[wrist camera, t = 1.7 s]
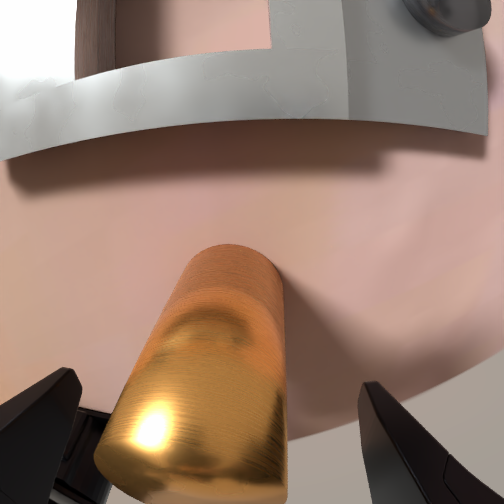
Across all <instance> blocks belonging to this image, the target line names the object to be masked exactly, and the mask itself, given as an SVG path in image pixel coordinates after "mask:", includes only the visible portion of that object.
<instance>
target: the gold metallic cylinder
mask: <svg viewBox="0 0 504 504" xmlns="http://www.w3.org/2000/svg"><path fill="white" fill-rule="evenodd" d="M94 462H95V464H96V466H97V468H98V470H99V471H100V472H101V474H102V475H103V476H104V477H105V478H106V479H107V480H108V481H109V482H110V483H112V484H113V485H114V486H116V487H117V488H118V489H120V490H121V491H123V492H124V493H126V494H127V495H129V496H131V497H133V498H135V499H137V500H139V501H141V502H143V503H145V504H284V503H285V502H286V500H287V489H288V484H287V483H288V481H287V480H288V478H287V477H288V476H287V474H288V473H287V472H288V471H287V392H286V354H285V325H284V299H283V285H282V281H281V278H280V275H279V273H278V271H277V270H276V268H275V267H274V265H273V264H272V263H271V262H270V261H269V260H268V259H267V258H266V257H264V256H263V255H262V254H260V253H258V252H257V251H255V250H253V249H250V248H248V247H244V246H240V245H232V244H225V245H217V246H213V247H210V248H207V249H205V250H203V251H201V252H200V253H198V254H197V255H196V256H195V257H194V258H193V259H191V261H190V262H189V263H188V265H187V266H186V268H185V270H184V272H183V274H182V275H181V277H180V279H179V281H178V283H177V285H176V287H175V288H174V290H173V292H172V294H171V296H170V298H169V300H168V302H167V304H166V305H165V307H164V309H163V311H162V313H161V315H160V317H159V319H158V321H157V323H156V325H155V327H154V329H153V331H152V332H151V334H150V336H149V338H148V340H147V342H146V344H145V346H144V348H143V350H142V352H141V354H140V356H139V358H138V360H137V362H136V364H135V366H134V368H133V370H132V372H131V375H130V377H129V379H128V381H127V383H126V385H125V387H124V389H123V391H122V393H121V395H120V397H119V400H118V402H117V404H116V406H115V408H114V410H113V412H112V414H111V417H110V419H109V421H108V423H107V425H106V428H105V430H104V432H103V434H102V436H101V439H100V441H99V443H98V445H97V448H96V450H95V452H94Z"/></svg>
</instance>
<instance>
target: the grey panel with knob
mask: <svg viewBox="0 0 504 504" xmlns="http://www.w3.org/2000/svg"><path fill="white" fill-rule="evenodd" d="M268 5H269V21H270V37H271V49H254V50H237V51H225V52H214V53H205V54H197V55H189V56H182V57H176V58H169V59H163V60H158V61H152V62H147V63H142V64H137V65H133V66H128V67H124V68H119V69H115V7H116V0H0V161H3V160H7V159H10V158H13V157H17V156H20V155H24V154H28V153H31V152H35V151H39V150H43V149H47V148H51V147H55V146H59V145H64V144H68V143H73V142H77V141H82V140H87V139H92V138H97V137H103V136H108V135H114V134H120V133H126V132H132V131H138V130H145V129H153V128H160V127H168V126H177V125H186V124H196V123H207V122H220V121H236V120H256V119H342V120H362V121H377V122H390V123H401V124H410V125H419V126H428V127H435V128H442V129H449V130H456V131H462V132H468V133H474V134H479V135H485V136H488V89H487V71H486V59H485V49H484V41H483V33H482V27H483V26H485V25H486V24H487V23H488V21H489V19H490V16H491V1H490V0H268Z"/></svg>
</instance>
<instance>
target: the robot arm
mask: <svg viewBox="0 0 504 504" xmlns="http://www.w3.org/2000/svg"><path fill="white" fill-rule="evenodd" d="M81 395H82V385H81V383H80V381H79V379H78V377H77V375H76V373H75V371H74V370H73V369H71V368H66V367H62V368H60V369H58V370H57V371H55V372H53V373H52V374H50V375H48V376H47V377H45V378H44V379H42V380H40V381H39V382H37V383H36V384H34V385H32V386H31V387H29V388H28V389H26V390H24V391H23V392H21V393H19V394H18V395H16V396H15V397H13V398H11V399H10V400H8V401H7V402H5V403H3V404H2V405H0V504H106V502H107V499H108V496H109V493H110V490H111V488H112V485H113V484H112V483H110V482H109V481H108V480H107V479H106V478H105V477H104V476H103V475H102V474H101V472H100V471H99V470H98V468H97V466H96V464H95V462H94V452H95V450H96V448H97V445H98V443H99V441H100V439H101V436H102V434H103V432H104V430H105V428H106V425H107V423H108V421H109V419H110V417H111V415H108V414H104V413H99V412H95V411H90V410H86V409H82V408H78V406H79V402H80V398H81ZM358 415H359V425H360V434H361V446H362V453H363V458H364V464H365V468H366V473H367V478H368V483H369V488H370V493H371V498H372V503H373V504H504V498H502V497H501V496H500V495H498V494H497V493H496V492H494V491H493V490H492V489H490V488H489V487H488V486H487V485H485V484H484V483H482V482H481V481H480V480H479V479H477V478H476V477H475V476H474V475H473V474H471V473H470V472H469V471H468V470H467V469H466V468H465V467H464V466H462V465H461V464H460V463H459V462H458V461H457V460H456V459H455V458H454V457H453V456H452V455H451V454H449V452H448V451H447V450H446V449H445V448H444V447H443V446H442V445H441V444H440V443H439V442H438V441H437V440H436V439H435V438H434V437H433V436H432V435H431V434H430V433H429V432H428V431H427V430H426V429H425V428H424V427H423V426H422V425H421V424H420V423H419V422H418V421H417V420H416V419H415V418H414V417H413V416H412V415H411V414H410V413H409V412H408V411H407V410H406V409H405V408H404V407H403V406H402V405H401V404H400V403H399V402H398V401H397V400H396V399H395V398H394V397H393V396H392V395H391V394H390V393H389V392H388V391H387V390H386V389H385V388H384V387H383V386H382V385H381V384H380V383H379V382H377V381H367V382H364V383H363V384H362V387H361V391H360V394H359V398H358Z"/></svg>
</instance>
